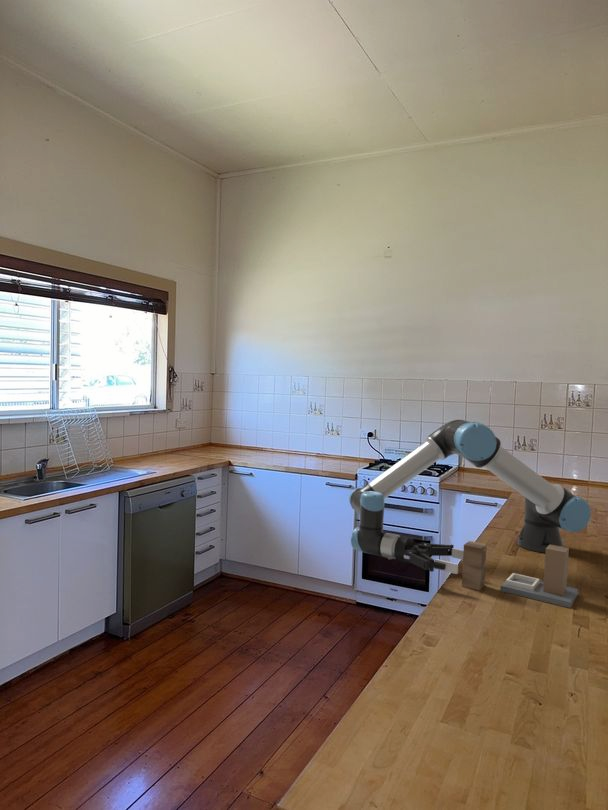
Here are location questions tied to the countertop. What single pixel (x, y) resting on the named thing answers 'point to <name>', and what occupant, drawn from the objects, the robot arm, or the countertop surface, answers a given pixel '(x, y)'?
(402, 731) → the countertop surface
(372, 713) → the countertop surface
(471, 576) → the pillar
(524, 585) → the baseplate
